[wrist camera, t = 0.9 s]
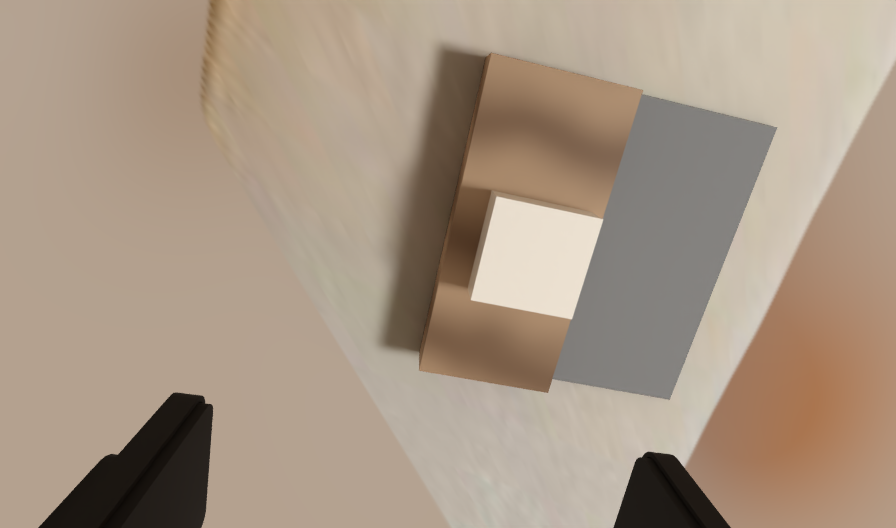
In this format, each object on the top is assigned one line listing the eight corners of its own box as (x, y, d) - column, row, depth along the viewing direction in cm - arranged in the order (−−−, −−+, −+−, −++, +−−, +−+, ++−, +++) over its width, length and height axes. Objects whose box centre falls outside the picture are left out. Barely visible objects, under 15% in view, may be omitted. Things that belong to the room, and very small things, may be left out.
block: (491, 190, 29) (496, 196, 27) (591, 212, 29) (603, 219, 27) (467, 287, 30) (470, 300, 28) (562, 306, 31) (571, 319, 29)
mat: (628, 92, 30) (632, 92, 29) (771, 127, 31) (777, 127, 30) (542, 373, 35) (543, 377, 35) (666, 395, 36) (669, 399, 36)
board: (485, 57, 29) (491, 52, 26) (625, 91, 30) (643, 90, 27) (419, 352, 34) (419, 370, 32) (539, 373, 35) (547, 392, 33)
